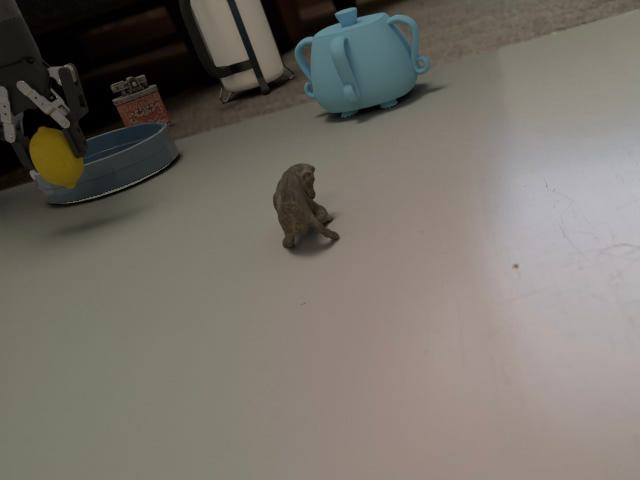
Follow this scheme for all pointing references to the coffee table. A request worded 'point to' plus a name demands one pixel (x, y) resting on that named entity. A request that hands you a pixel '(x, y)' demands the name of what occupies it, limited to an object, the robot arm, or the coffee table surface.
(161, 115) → the lighter
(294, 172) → the brown furry figure
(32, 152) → the lemon
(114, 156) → the bowl
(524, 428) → the coffee table surface
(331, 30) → the decorative pot
